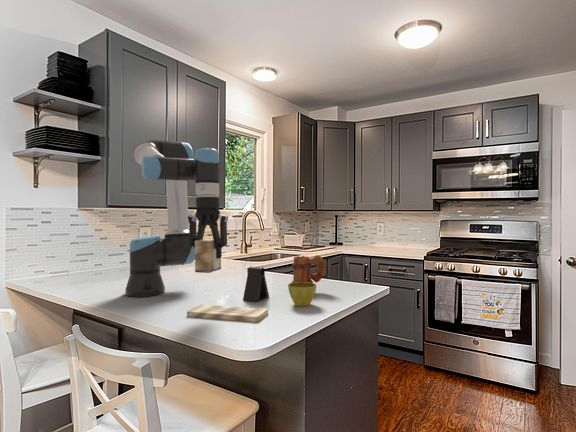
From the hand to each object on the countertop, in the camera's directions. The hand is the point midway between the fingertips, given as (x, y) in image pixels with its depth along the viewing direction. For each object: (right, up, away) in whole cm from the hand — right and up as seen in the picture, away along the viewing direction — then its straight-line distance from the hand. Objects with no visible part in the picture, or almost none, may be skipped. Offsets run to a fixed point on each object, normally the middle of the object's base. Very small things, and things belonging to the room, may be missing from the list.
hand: (208, 268), depth 116 cm
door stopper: (+14, -15, +19) cm, 28 cm away
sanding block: (0, -1, 0) cm, 1 cm away
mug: (+34, -14, +32) cm, 49 cm away
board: (+7, -15, -2) cm, 16 cm away
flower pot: (+31, -15, +10) cm, 36 cm away
